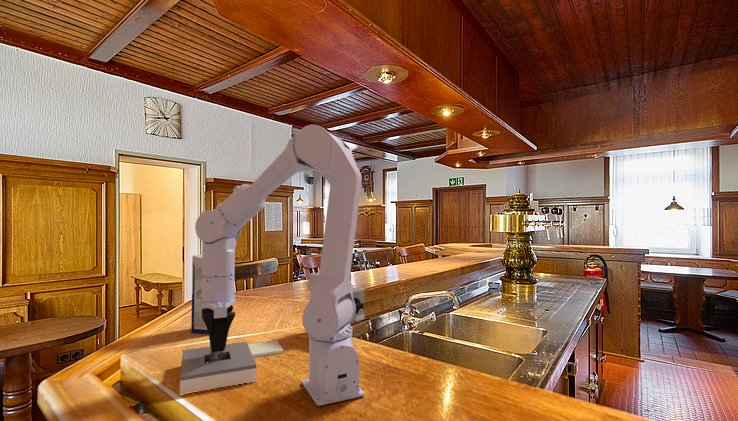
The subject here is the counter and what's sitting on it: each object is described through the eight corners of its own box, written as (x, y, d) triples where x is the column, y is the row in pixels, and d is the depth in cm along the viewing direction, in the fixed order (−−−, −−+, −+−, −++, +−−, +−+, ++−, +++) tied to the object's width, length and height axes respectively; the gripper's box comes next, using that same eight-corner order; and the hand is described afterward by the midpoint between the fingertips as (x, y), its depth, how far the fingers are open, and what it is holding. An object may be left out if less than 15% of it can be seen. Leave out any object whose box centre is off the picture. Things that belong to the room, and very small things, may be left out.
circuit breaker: (350, 343, 85) (350, 278, 85) (308, 332, 93) (308, 273, 94) (369, 335, 91) (369, 275, 91) (328, 325, 99) (328, 270, 100)
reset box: (256, 381, 64) (256, 364, 64) (179, 395, 59) (179, 377, 59) (246, 355, 77) (246, 341, 77) (182, 365, 72) (182, 350, 72)
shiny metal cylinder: (226, 368, 67) (226, 319, 68) (209, 370, 66) (210, 320, 66) (225, 362, 70) (225, 315, 70) (209, 365, 69) (210, 317, 69)
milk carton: (208, 325, 100) (209, 252, 101) (230, 326, 99) (231, 252, 99) (190, 333, 93) (191, 254, 94) (214, 334, 92) (215, 255, 92)
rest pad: (283, 352, 79) (283, 349, 79) (249, 357, 76) (249, 355, 76) (276, 343, 85) (277, 340, 85) (245, 347, 82) (245, 344, 82)
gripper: (195, 272, 73) (194, 340, 73) (194, 282, 60) (193, 365, 60) (232, 270, 76) (231, 335, 76) (239, 279, 63) (239, 358, 63)
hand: (217, 348), depth 68 cm, fingers closed on shiny metal cylinder, 3 cm apart
